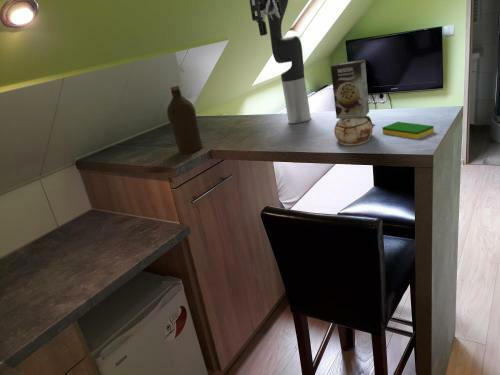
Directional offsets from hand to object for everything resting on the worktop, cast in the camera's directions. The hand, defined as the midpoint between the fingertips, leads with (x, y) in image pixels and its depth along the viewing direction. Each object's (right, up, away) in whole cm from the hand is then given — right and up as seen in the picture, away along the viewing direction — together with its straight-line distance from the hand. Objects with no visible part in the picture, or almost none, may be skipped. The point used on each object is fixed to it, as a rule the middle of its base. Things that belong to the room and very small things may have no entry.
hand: (270, 33), depth 121 cm
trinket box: (+27, -32, +5) cm, 42 cm away
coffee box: (+26, -25, +2) cm, 36 cm away
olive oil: (-30, -33, +34) cm, 56 cm away
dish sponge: (+42, -31, 0) cm, 52 cm away
